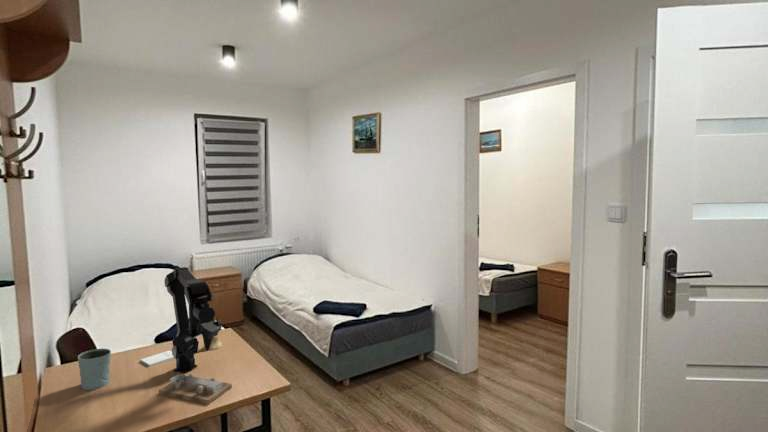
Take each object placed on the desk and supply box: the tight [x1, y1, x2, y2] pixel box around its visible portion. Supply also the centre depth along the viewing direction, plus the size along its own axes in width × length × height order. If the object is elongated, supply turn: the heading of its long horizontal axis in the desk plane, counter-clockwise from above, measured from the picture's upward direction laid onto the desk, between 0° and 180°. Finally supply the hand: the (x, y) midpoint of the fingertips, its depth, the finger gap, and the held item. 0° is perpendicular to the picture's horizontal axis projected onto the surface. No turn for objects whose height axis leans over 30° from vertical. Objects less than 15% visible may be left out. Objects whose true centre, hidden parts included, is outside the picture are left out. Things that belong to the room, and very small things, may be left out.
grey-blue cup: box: [77, 348, 112, 391], centre depth 156 cm, size 10×10×12 cm
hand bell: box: [202, 316, 223, 351], centre depth 192 cm, size 8×8×16 cm
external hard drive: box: [139, 350, 176, 368], centre depth 179 cm, size 2×8×12 cm
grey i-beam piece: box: [169, 373, 223, 394], centre depth 152 cm, size 20×4×2 cm, turn 72°
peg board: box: [158, 372, 233, 405], centre depth 152 cm, size 22×12×4 cm, turn 72°
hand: (198, 355), depth 157 cm, fingers open, 9 cm apart
